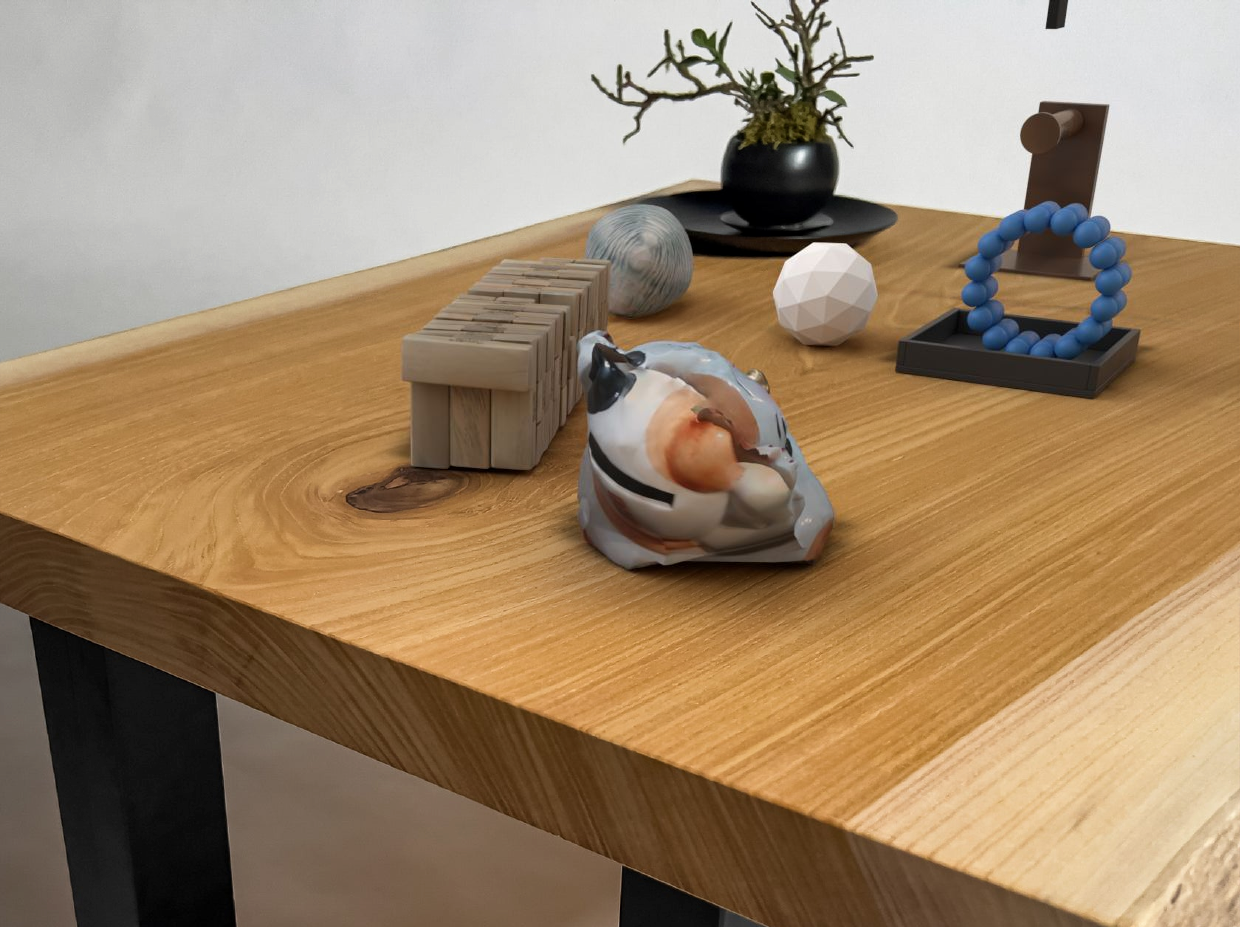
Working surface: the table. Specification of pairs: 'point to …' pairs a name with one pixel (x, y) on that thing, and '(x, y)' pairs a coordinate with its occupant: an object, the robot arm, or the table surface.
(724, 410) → the lucky cat figurine
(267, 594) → the table surface
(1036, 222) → the blue beaded bracelet
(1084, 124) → the bracelet rack
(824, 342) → the geometric ball
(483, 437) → the block tower
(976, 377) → the tray
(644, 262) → the grey streaked rounded piece
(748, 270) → the table surface
